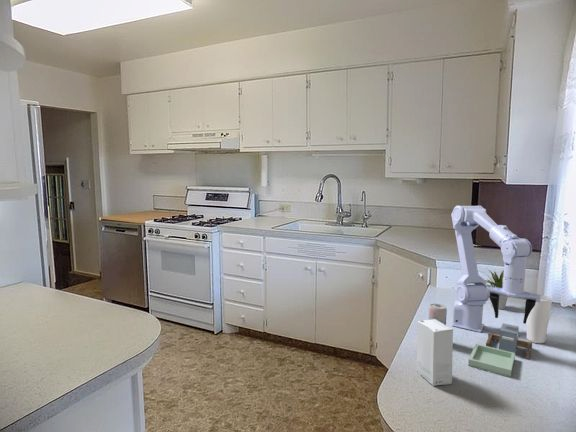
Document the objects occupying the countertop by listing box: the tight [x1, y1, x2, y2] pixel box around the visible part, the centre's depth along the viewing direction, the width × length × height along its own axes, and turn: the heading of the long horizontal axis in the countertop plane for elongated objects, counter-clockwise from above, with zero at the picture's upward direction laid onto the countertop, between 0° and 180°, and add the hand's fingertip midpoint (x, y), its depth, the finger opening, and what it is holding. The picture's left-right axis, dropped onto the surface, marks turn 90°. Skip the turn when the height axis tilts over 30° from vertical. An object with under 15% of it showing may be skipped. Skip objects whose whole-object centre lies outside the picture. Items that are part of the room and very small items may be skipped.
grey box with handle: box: [498, 322, 520, 355], centre depth 121 cm, size 4×8×7 cm, turn 145°
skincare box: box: [416, 319, 454, 387], centre depth 103 cm, size 8×6×15 cm
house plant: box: [480, 268, 509, 310], centre depth 161 cm, size 14×14×16 cm
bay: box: [485, 332, 533, 360], centre depth 122 cm, size 12×9×2 cm
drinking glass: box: [525, 294, 552, 344], centre depth 128 cm, size 7×7×15 cm
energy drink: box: [427, 303, 448, 326], centre depth 126 cm, size 5×5×12 cm
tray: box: [467, 343, 516, 378], centre depth 113 cm, size 11×13×2 cm
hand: (510, 319), depth 121 cm, fingers open, 7 cm apart
